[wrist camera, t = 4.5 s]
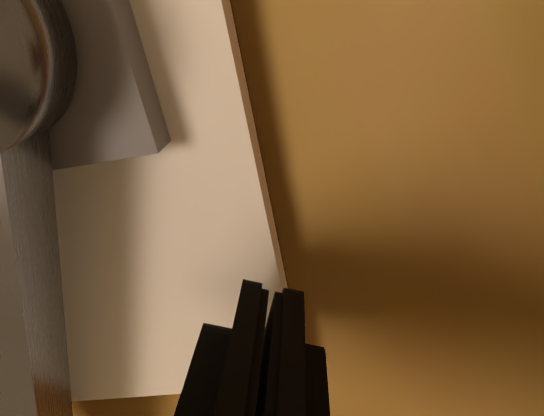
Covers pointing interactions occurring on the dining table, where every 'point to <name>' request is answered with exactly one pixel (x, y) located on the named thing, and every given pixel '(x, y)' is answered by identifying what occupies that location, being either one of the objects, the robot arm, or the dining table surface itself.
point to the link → (32, 207)
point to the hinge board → (156, 192)
